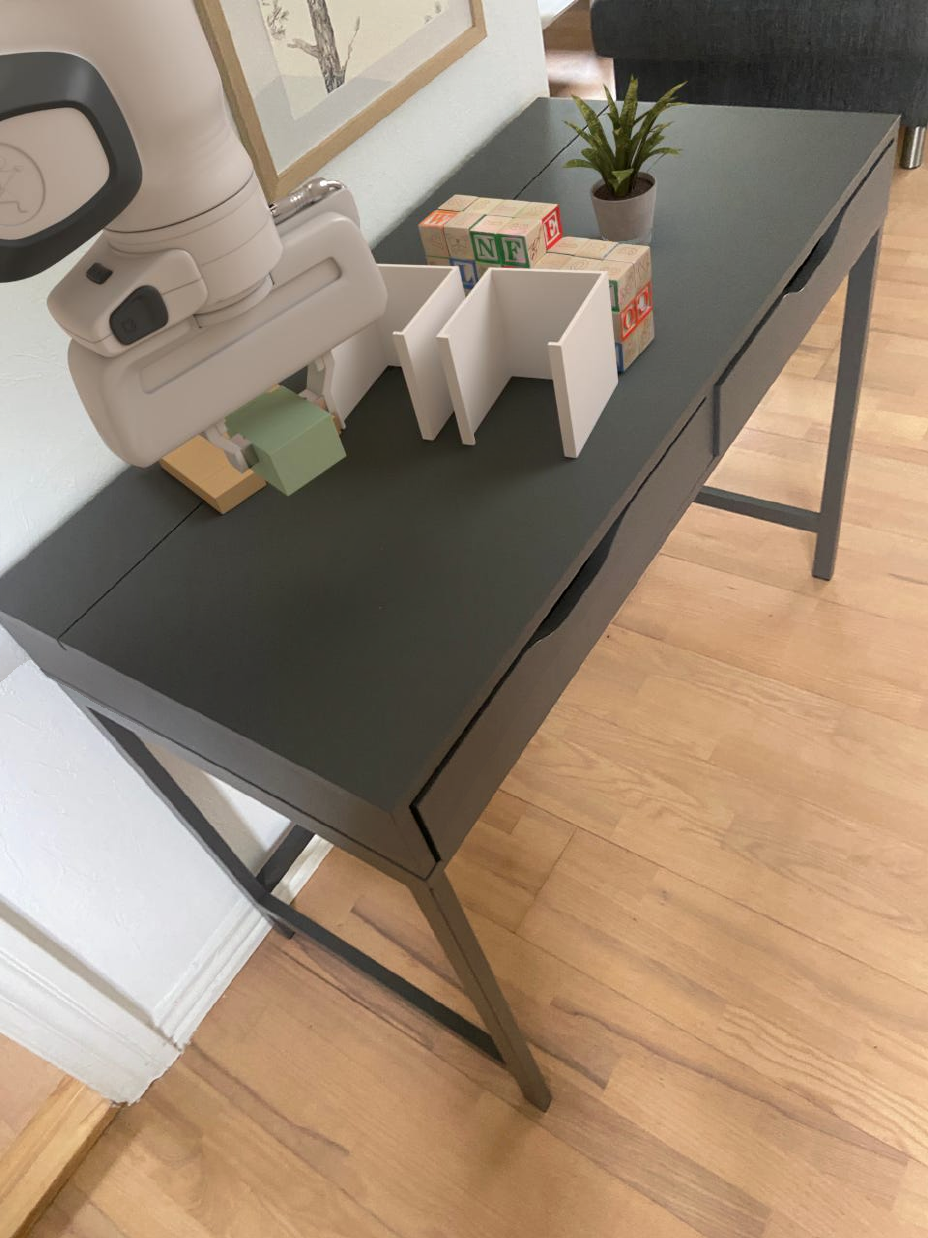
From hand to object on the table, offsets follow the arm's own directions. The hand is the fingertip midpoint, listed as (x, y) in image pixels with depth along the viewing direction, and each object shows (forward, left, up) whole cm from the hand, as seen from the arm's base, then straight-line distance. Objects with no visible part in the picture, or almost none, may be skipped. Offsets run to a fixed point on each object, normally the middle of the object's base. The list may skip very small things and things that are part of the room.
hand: (284, 439), depth 61 cm
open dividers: (+23, +10, -16) cm, 29 cm away
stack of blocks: (+35, +12, -16) cm, 40 cm away
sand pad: (+6, +24, -15) cm, 29 cm away
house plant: (+53, +16, -16) cm, 57 cm away
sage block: (0, +1, -2) cm, 2 cm away
